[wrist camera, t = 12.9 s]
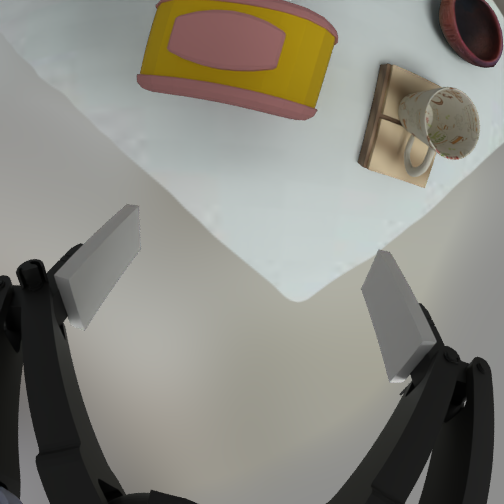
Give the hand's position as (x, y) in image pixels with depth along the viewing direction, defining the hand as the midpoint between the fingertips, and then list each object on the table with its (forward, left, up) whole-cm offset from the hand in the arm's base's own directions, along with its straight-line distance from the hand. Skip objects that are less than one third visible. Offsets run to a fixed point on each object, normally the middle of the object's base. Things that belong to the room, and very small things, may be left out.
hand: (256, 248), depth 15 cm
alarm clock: (-12, -5, -29) cm, 32 cm away
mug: (-9, +19, -25) cm, 32 cm away
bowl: (-31, +25, -29) cm, 49 cm away
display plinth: (-9, +19, -29) cm, 35 cm away
